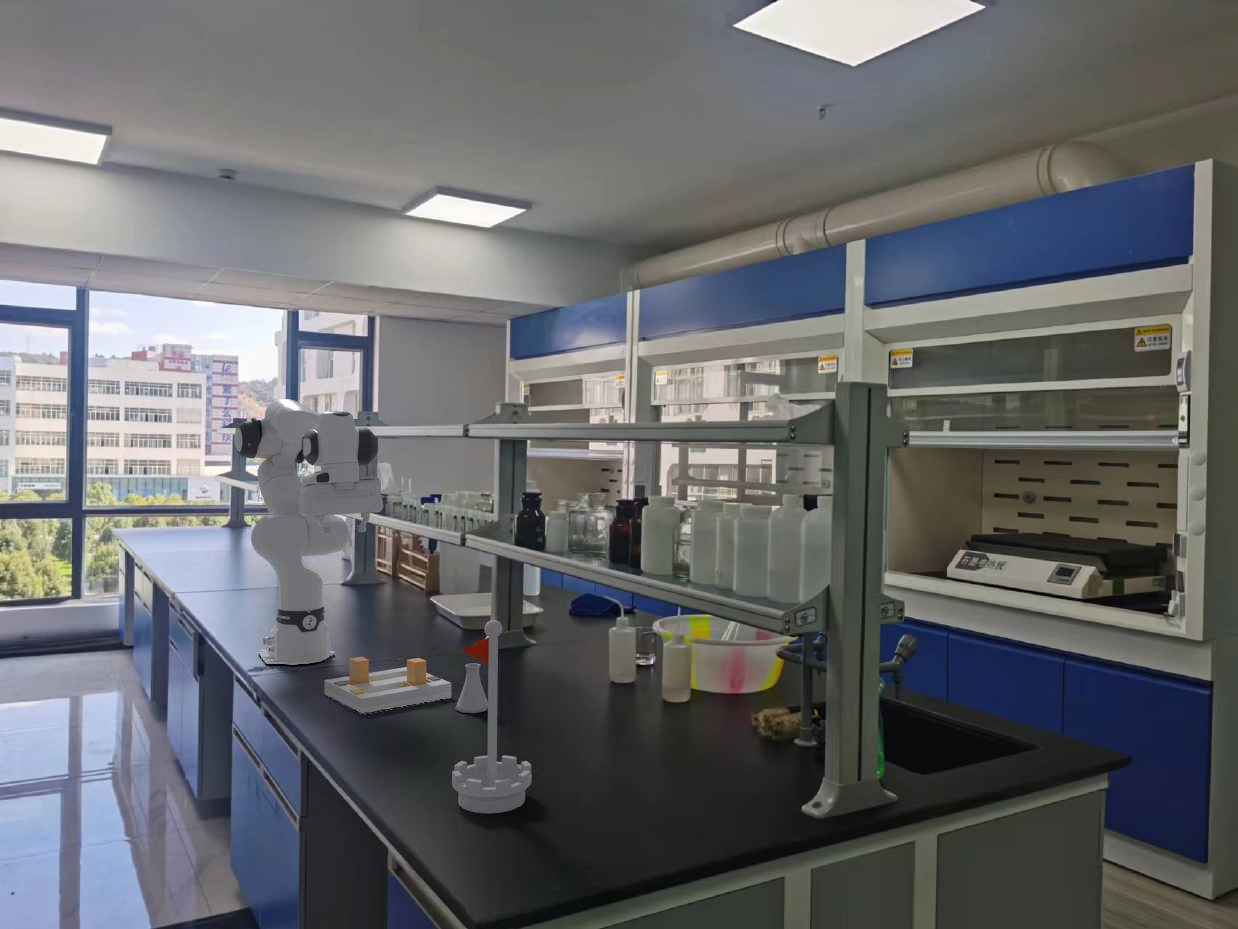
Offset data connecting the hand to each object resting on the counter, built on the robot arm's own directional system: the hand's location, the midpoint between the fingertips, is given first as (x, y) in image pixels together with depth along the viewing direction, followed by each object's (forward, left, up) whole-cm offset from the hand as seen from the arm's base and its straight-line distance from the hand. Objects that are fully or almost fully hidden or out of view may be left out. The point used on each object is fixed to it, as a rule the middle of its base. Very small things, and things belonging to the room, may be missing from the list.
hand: (343, 533), depth 224 cm
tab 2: (+21, +9, -35) cm, 42 cm away
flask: (+37, +14, -37) cm, 54 cm away
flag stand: (+84, -11, -37) cm, 93 cm away
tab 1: (+12, -1, -35) cm, 37 cm away
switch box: (+16, +4, -37) cm, 41 cm away
